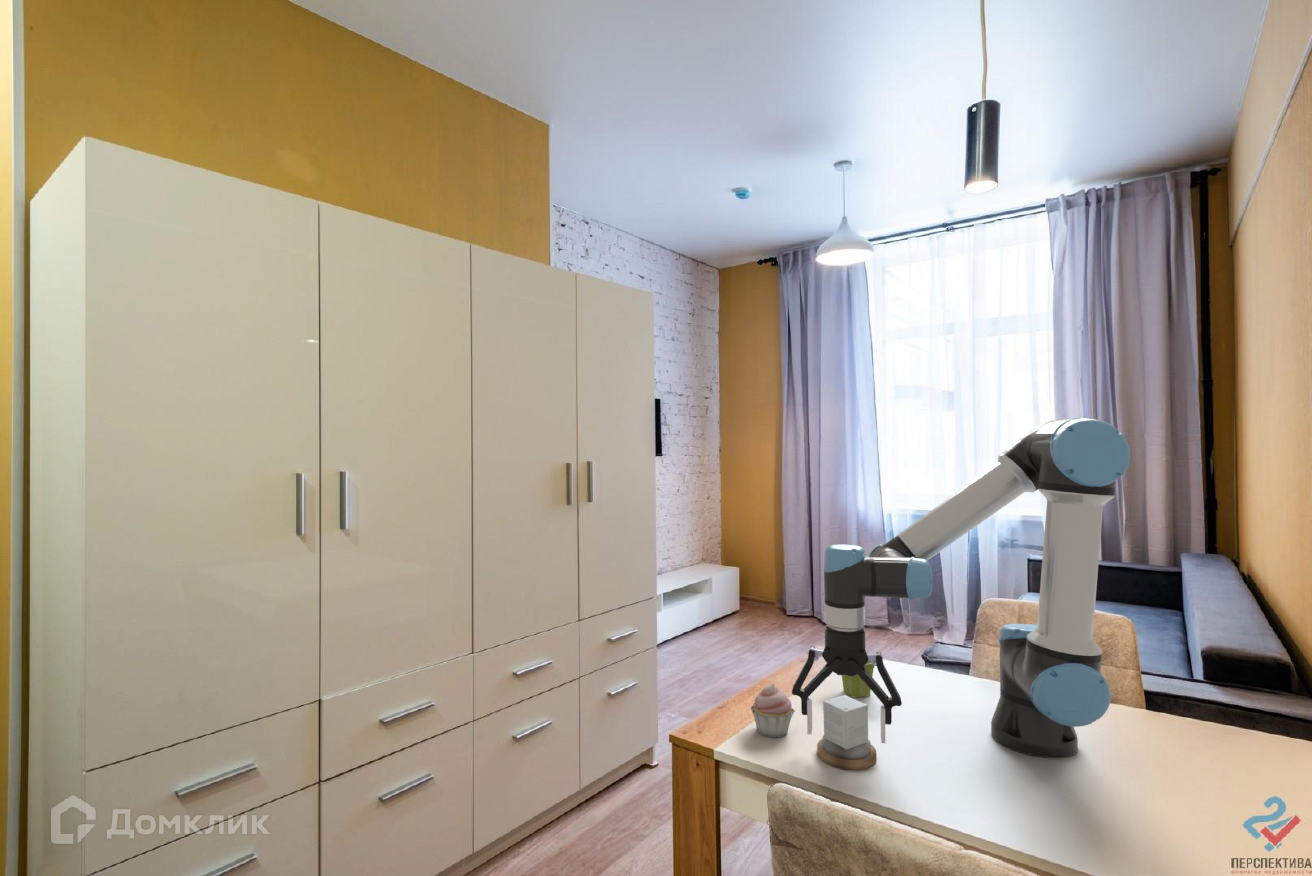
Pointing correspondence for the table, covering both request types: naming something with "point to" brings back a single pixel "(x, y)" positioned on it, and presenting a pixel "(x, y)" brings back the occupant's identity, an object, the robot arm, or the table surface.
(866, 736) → the product box
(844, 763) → the pedestal
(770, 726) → the cupcake
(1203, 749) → the table surface
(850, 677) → the plant pot
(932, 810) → the table surface
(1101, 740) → the table surface
